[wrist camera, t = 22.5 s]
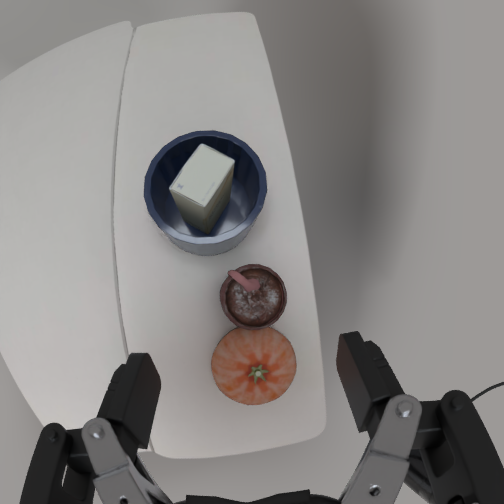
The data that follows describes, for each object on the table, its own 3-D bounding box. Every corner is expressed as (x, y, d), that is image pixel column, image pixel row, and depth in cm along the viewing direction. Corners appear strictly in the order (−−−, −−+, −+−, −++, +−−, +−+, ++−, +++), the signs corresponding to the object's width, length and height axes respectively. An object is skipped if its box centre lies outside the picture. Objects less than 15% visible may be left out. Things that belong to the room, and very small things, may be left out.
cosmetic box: (208, 235, 38) (204, 211, 26) (181, 220, 38) (166, 189, 26) (231, 198, 39) (237, 160, 27) (204, 183, 39) (200, 141, 27)
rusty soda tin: (236, 262, 38) (246, 247, 25) (272, 290, 38) (302, 290, 25) (209, 297, 37) (204, 302, 23) (246, 325, 37) (262, 345, 24)
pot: (235, 154, 40) (240, 118, 31) (268, 236, 39) (285, 218, 30) (150, 183, 38) (132, 153, 28) (178, 270, 37) (164, 263, 27)
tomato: (247, 406, 36) (254, 431, 28) (195, 355, 36) (190, 371, 28) (302, 358, 38) (322, 373, 30) (253, 305, 38) (263, 309, 30)
